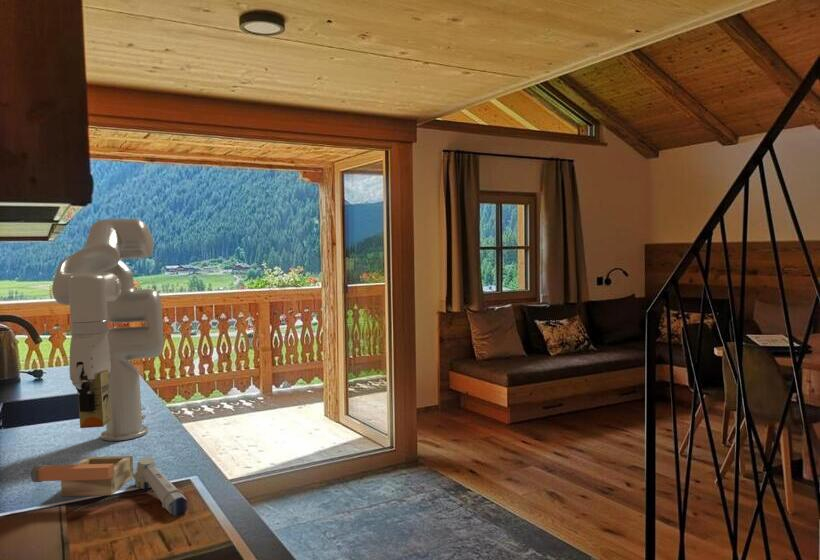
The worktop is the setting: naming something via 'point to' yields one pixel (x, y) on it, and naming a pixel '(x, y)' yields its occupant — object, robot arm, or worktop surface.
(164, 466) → the worktop surface
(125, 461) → the socket
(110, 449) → the worktop surface
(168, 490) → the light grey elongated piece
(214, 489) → the worktop surface
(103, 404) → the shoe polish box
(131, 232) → the robot arm
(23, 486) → the worktop surface
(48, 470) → the bar
